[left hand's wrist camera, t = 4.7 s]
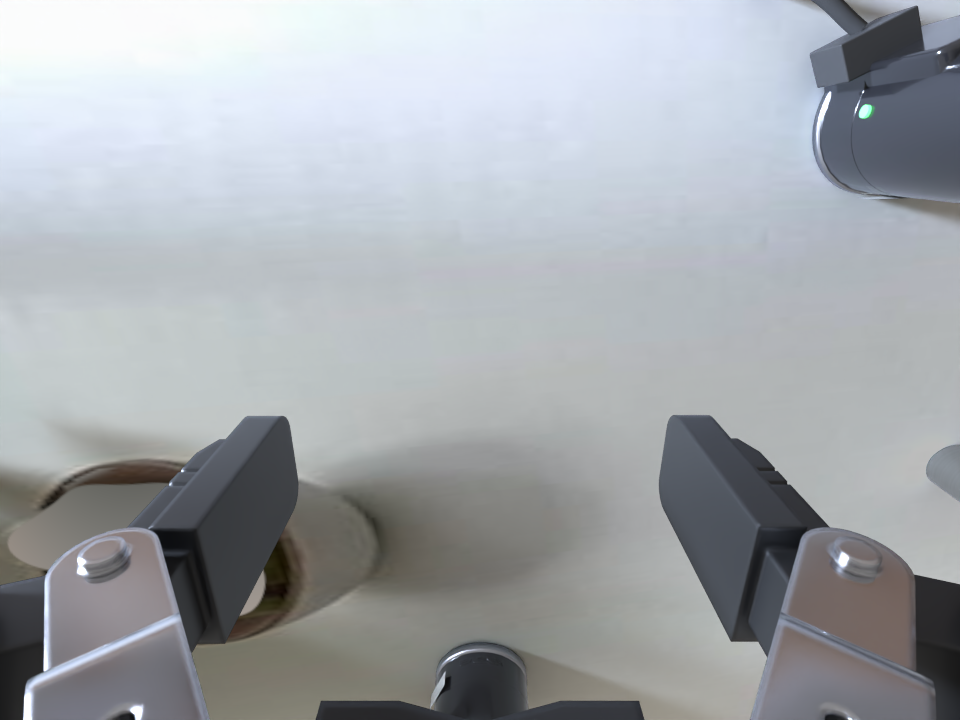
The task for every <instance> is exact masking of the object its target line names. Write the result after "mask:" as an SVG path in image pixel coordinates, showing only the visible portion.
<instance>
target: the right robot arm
mask: <svg viewBox="0 0 960 720" xmlns="http://www.w3.org/2000/svg"><path fill="white" fill-rule="evenodd" d="M811 1H813V2H814V3H816V4H817V5H818V6H820V7H821V8H822V9H823V10H824V11H825V12H826V13H827V14H828V15H829V16H830V17H831V18H832V19H833V20H834V21H835V22H836V23H837V24H838V25H839V26H840V27H842V28H843V29H844V30H845V31H846V32H847V33H848V34H847V35H845V36H843V37H841V38H839V39H837V40H835V41H833V42H831V43H829V44H827V45H825V46H823V47H821V48H819V49H817V50H815V51H813V52H812V53H810V58H811V62H812V66H813V71H814V75H815V79H816V83H817V87H818V88H819V87H825V94H824V96H823V98H822V100H821V102H820V104H819V107H818V110H817V113H816V116H815V120H814V125H813V138H812V141H813V150H814V155H815V158H816V161H817V164H818V166H819V168H820V170H821V171H822V173H823V174H824V175H825V177H826V178H827V179H828V180H829V181H830V182H831V183H833V184H834V185H835V186H837V187H839V188H841V189H843V190H845V191H848V192H852V193H857V194H867V195H877V194H880V195H884V196H881V197H858V198H866V199H895V198H916V199H925V200H934V201H943V202H952V203H960V15H959V16H956V17H952V18H948V19H945V20H941V21H938V22H934V23H931V24H927V25H923V26H921V23H920V17H919V10H918V6H914V7H911V8H907V9H904V10H901V11H898V12H895V13H892V14H889V15H886V16H883V17H880V18H878V19H876V20H874V21H872V22H870V23H867V22H866V21H865V20H864V19H862V18H861V17H860V16H859V15H858V14H857V13H856V12H855V11H854V10H853V9H852V8H851V7H850V6H849V5H848V4H847V3H846V2H845V1H844V0H811ZM888 195H890V196H888Z"/></svg>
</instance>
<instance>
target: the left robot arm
mask: <svg viewBox="0 0 960 720" xmlns="http://www.w3.org/2000/svg"><path fill="white" fill-rule="evenodd" d="M659 493H660V499H661V504H662V507H663V509H664V511H665V513H666V515H667V517H668V519H669V521H670V523H671V525H672V527H673V529H674V531H675V533H676V535H677V537H678V539H679V541H680V543H681V544H682V546H683V548H684V550H685V552H686V554H687V556H688V558H689V560H690V562H691V564H692V566H693V568H694V570H695V572H696V574H697V576H698V578H699V580H700V582H701V584H702V586H703V588H704V589H705V591H706V593H707V595H708V597H709V599H710V601H711V603H712V605H713V607H714V609H715V611H716V613H717V615H718V617H719V619H720V621H721V623H722V625H723V627H724V629H725V631H726V633H727V635H728V636H729V638H730V640H731V642H759V644H760V645H761V647H762V649H763V651H764V652H765V654H766V656H767V661H766V664H765V668H764V671H763V675H762V678H761V682H760V686H759V689H758V693H757V696H756V700H755V703H754V707H753V711H752V714H751V718H750V720H960V584H956V583H951V582H946V581H942V580H937V579H932V578H927V577H923V576H918V575H914V574H913V572H912V570H911V569H910V567H909V566H908V564H907V563H906V562H905V561H904V560H903V559H902V558H901V557H900V556H898V555H897V554H896V553H895V552H893V551H892V550H890V549H889V548H888V547H886V546H884V545H883V544H881V543H879V542H877V541H875V540H873V539H871V538H869V537H866V536H864V535H861V534H858V533H855V532H852V531H848V530H844V529H838V528H830V527H829V526H828V525H827V524H826V523H825V522H824V521H823V520H822V518H821V517H820V516H819V515H818V514H817V513H816V512H815V511H814V510H813V509H812V508H811V507H810V505H809V504H808V503H807V502H806V501H805V500H804V499H803V498H802V497H801V496H800V495H799V494H798V493H797V491H796V490H795V489H794V488H793V487H792V486H791V485H787V481H786V480H785V479H784V477H783V476H782V475H781V474H780V473H779V472H778V471H775V468H774V467H773V466H772V464H771V463H770V462H769V461H768V460H767V459H766V458H765V457H764V456H763V455H762V454H761V453H760V452H759V451H757V450H756V449H754V448H752V447H751V446H749V445H747V444H746V443H744V442H742V441H741V440H739V439H731V438H730V437H729V436H728V435H727V433H726V432H725V431H724V430H723V429H722V428H721V427H720V425H719V424H718V423H717V422H716V421H715V420H714V418H713V417H711V416H710V415H673V416H671V417H670V419H669V421H668V425H667V430H666V437H665V444H664V450H663V457H662V464H661V470H660V477H659ZM297 496H298V476H297V470H296V463H295V457H294V450H293V443H292V437H291V430H290V425H289V422H288V420H287V418H286V417H284V416H247V417H245V418H244V419H243V420H242V421H241V423H240V424H239V425H238V426H237V427H236V428H235V429H234V430H233V432H232V433H231V434H230V435H229V436H228V437H227V438H226V439H219V440H218V441H216V442H214V443H213V444H211V445H209V446H208V447H206V448H204V449H203V450H201V451H199V452H198V453H196V454H195V455H194V456H193V457H192V458H191V460H190V461H189V462H188V463H187V464H186V465H185V466H184V467H183V468H182V471H181V472H178V473H177V474H176V476H175V477H174V478H173V479H172V480H171V481H170V482H169V486H165V487H164V488H163V489H162V491H161V492H160V493H159V494H158V495H157V496H156V497H155V498H154V499H153V500H152V501H151V502H150V503H149V504H148V506H147V507H146V508H145V509H144V510H143V511H142V512H141V513H140V514H139V515H138V516H137V517H136V518H135V519H134V520H133V522H132V523H131V524H130V525H129V526H128V527H127V528H122V529H116V530H112V531H108V532H105V533H102V534H99V535H96V536H94V537H91V538H89V539H87V540H85V541H83V542H81V543H79V544H77V545H76V546H74V547H72V548H71V549H70V550H68V551H67V552H65V553H64V554H63V555H62V556H60V557H59V558H58V559H57V560H56V561H55V562H54V563H53V565H52V566H51V567H50V569H49V570H48V572H47V574H46V575H45V576H41V577H36V578H32V579H27V580H22V581H18V582H13V583H8V584H4V585H0V720H210V718H209V714H208V711H207V707H206V703H205V700H204V696H203V693H202V689H201V686H200V682H199V678H198V675H197V671H196V668H195V664H194V661H193V657H192V654H191V653H192V652H193V650H194V648H195V647H196V645H197V644H225V642H226V640H227V638H228V636H229V634H230V632H231V631H232V629H233V627H234V625H235V623H236V621H237V619H238V617H239V615H240V613H241V611H242V609H243V607H244V605H245V603H246V601H247V600H248V598H249V596H250V594H251V592H252V590H253V588H254V586H255V584H256V582H257V580H258V578H259V576H260V574H261V573H262V571H263V569H264V567H265V565H266V563H267V561H268V559H269V557H270V555H271V553H272V551H273V549H274V547H275V545H276V544H277V542H278V540H279V538H280V536H281V534H282V532H283V530H284V528H285V526H286V524H287V522H288V520H289V518H290V516H291V515H292V513H293V511H294V508H295V505H296V502H297ZM434 702H435V707H434V710H431V707H432V705H433V704H434ZM316 720H644V717H643V713H642V710H641V706H640V703H639V701H559V702H555V703H551V704H548V705H544V706H540V707H537V708H533V709H529V710H528V699H527V676H526V669H525V666H524V663H523V662H522V660H521V659H520V658H519V657H518V656H517V655H516V654H515V653H514V652H512V651H511V650H509V649H507V648H505V647H503V646H500V645H496V644H491V643H471V644H466V645H463V646H460V647H458V648H455V649H454V650H452V651H450V652H449V653H448V654H446V655H445V656H444V657H443V658H442V660H441V661H440V663H439V665H438V667H437V672H436V688H435V690H434V691H433V693H432V695H431V704H430V709H427V708H423V707H420V706H416V705H412V704H409V703H405V702H401V701H321V703H320V706H319V710H318V713H317V717H316Z"/></svg>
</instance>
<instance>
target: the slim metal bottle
mask: <svg viewBox="0 0 960 720" xmlns="http://www.w3.org/2000/svg"><path fill="white" fill-rule="evenodd" d="M926 473H927V476H928V478H929V479H930V480H931V481H932V482H933V483H934V484H936V485H937V486H938V487H940V488H941V489H943V490H944V491H945V492H947V493H948V494H949V495H951V496H952V497H953V498H955V499H956V500H958V501H959V502H960V445H953V446H949V447H946V448H944V449H942V450H940V451H939V452H937V453H936V454H935V455H934V456H933V457H932V458H931V459H930V461H929V463H928V465H927V469H926Z"/></svg>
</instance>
